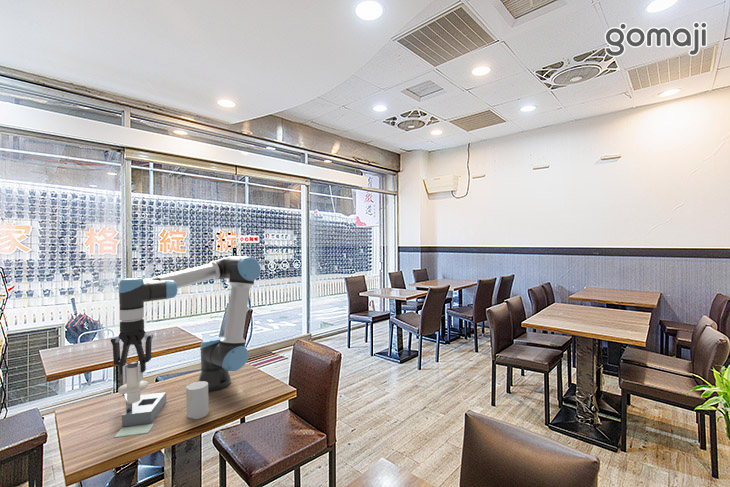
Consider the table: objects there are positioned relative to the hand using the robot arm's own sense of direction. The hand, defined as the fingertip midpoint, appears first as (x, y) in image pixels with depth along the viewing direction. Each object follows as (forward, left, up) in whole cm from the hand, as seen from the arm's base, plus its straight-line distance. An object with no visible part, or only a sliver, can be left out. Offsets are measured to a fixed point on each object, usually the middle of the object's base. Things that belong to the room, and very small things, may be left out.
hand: (133, 381), depth 126 cm
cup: (-20, -8, -19) cm, 29 cm away
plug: (0, 0, -7) cm, 7 cm away
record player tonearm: (+8, -13, -14) cm, 21 cm away
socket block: (+1, -13, -19) cm, 23 cm away
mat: (0, 0, -19) cm, 19 cm away
